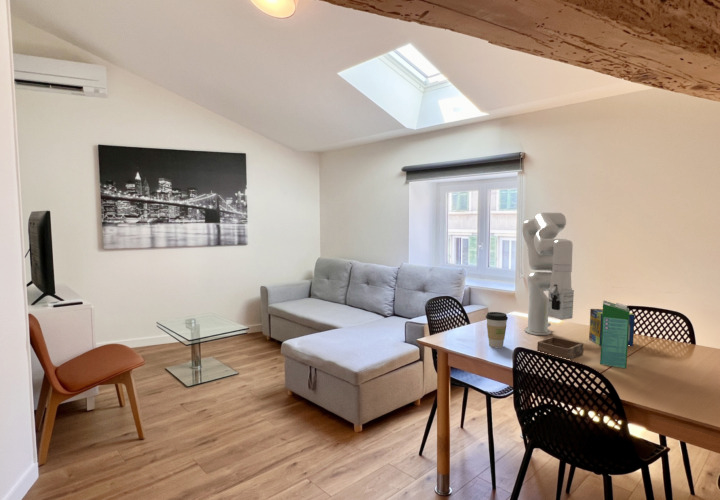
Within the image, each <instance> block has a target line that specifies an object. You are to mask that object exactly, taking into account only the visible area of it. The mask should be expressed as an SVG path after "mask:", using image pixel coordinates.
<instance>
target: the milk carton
mask: <svg viewBox="0 0 720 500" xmlns="http://www.w3.org/2000/svg"><path fill="white" fill-rule="evenodd" d="M602 309H603V314H602V335H601V346H600V359H599V361H600V362H599V364H600V365H603V366H609V367H615V368H621V369H627V368H628V364H627V363H628V350H629V349H628V348H629V347H628V331H629V312H630V308H629V307H628V305H626V304H623V303H619V302H615V303H613V302H610V301H607V300H603V302H602Z"/></svg>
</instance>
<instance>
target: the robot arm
mask: <svg viewBox="0 0 720 500" xmlns="http://www.w3.org/2000/svg"><path fill="white" fill-rule="evenodd" d="M566 225H567V219H566V216H565V215H564V214H563V213H561V212H541V213H537V214H536V215H535V216H534V218H532V219H527V220H525V221H524V222H523V223H522V231H521V232H522V235H523V238H524V242H525V243H526V247H527V258H528V265H529V268H530V269H531V270H532V271H535V272H531V273H529V274H528V276H527V287H528V289H527V290H528V309H527V310H528V313H527V327H525V328H524V332H525V333H527V334H530V335H534V336H535V335H536V336H549V335H551V334H552V332H551V330H550V329H549V327H551V322H549V316H548V296H547V295H546V294H545V292H546V291H547V292H549V288H550V294H551V300H552V309H554V310H559V309H560V301H559V298H560V295H561V291H563V290H568V289H571V290H573V288H572V272H573V270H572V269H573V246H574V245H573V241H572V240H570V239H566V238H557V236H558V234H559V233H560V232H562V231H563V230H564V229H565V227H566ZM556 290H558V292H559V293H555V291H556ZM556 295H558V296H556Z"/></svg>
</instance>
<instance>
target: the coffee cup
mask: <svg viewBox="0 0 720 500" xmlns="http://www.w3.org/2000/svg"><path fill="white" fill-rule="evenodd" d="M485 318H486V329H487V338H488V346H490V347H491V348H499V349H500V348H503V347H504V341H505V337H506V329H507V323H508V319H509V318H508V316H507V314H506V313H505V312H500V311H490V312H487V313H486V315H485Z"/></svg>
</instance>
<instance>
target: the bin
mask: <svg viewBox="0 0 720 500" xmlns="http://www.w3.org/2000/svg"><path fill="white" fill-rule="evenodd" d="M536 348H537V351H540V352H544V353H547V354H551V355H554V356H558V357H562V358H566V359H570V361H572V360H574V359H577V358H579V357H581V356H583V355H584V343H583V342H578V341H573V340H569V339H565V338H561V337H557V336H550V337H546V338H545V339H542V340H539V341H537V347H536ZM537 351H536V352H537ZM576 357H577V358H576Z"/></svg>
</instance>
